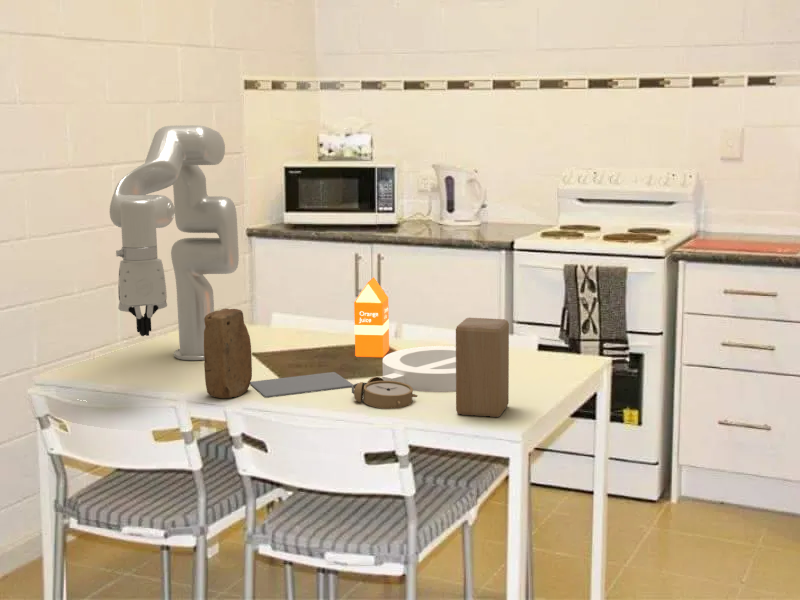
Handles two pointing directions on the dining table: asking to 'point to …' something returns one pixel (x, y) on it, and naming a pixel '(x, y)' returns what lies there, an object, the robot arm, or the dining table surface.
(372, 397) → the alarm clock
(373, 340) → the orange juice
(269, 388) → the mat
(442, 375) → the white circle with bar
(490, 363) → the wooden block
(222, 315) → the block
